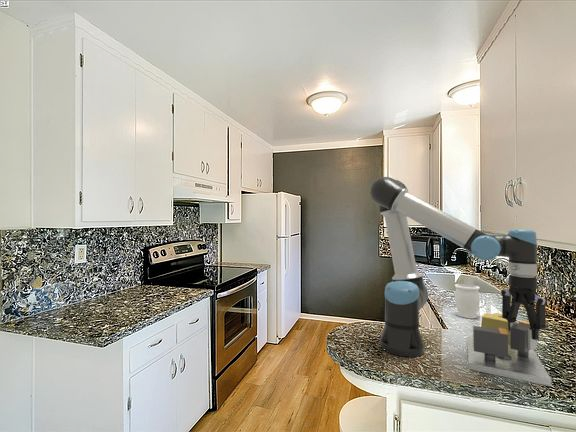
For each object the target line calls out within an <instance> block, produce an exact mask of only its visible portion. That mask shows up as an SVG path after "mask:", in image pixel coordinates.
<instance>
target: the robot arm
mask: <svg viewBox="0 0 576 432" xmlns="http://www.w3.org/2000/svg"><path fill="white" fill-rule="evenodd" d="M369 195H370V198H371V200H372V201H373V203H375V205H378V209H379V214H380V215H382V216H383V217H384V221H385V226H386V232H387V236H388V237H387V238H388V242H389V248H390V253H391V259H392V265H393V270H394V274H393V276H392V277H391V280H392V281H390V282H388V283H386V284H385V287H384V325H383V330H382V331H381V335H380V337H379V347H380V346H381V347H382V348H383V349H385V350H386V351H388V352H390V353H389V354H391V353H393V354H392V355H394V354H396V355H395V356H398V355H400V356H399V357H404V356H409V357H408V358H414V357H415V358H416V357H420V356H422V355H423V354H425V344H424V341H423V338H422V335H421V331H420V328H419V327H420V321H419V320H420V319H419V317H420V310H421V309H422V308H423V307H424V306H425V305H426V303H427V302H428V297H429V291H428V288H427V286H426V285H425V283H424V278H423V275H422V273H419V272H418V267H417V265H416V258H415V255H414V248H413V247H414V246H413V243H412V237H411V233H410V228H409V223H408V218H409V219H410V220H413V221H415V222H416V223H418V224H419V225H421V226H423V227H426V228H427V229H428V230H430V231H432V232H434V233H436V234H438V235H439V236H441V237H443V238H445V239H446V240H448V241H451V242H452V243H454V244H456V245H457V246H459V247H460V248H463V249H464V250H466V252H468V254H469V255H471V256H472V255H473V256H474V257H476V258H477V259H480V260H483V261H490V260H493V259H495V258H497V257H504V258H505V257H506V258H508V273H509V275H508V286H509V288H508V289H501V290H500V294H501V297H502V305H501V309H502V310H501V311H502V312H501V314H502V317H503V318H504V319H506V320H507V321H508V330H509V331H510V327H512V326H514V325H516V324H518V323H519V322H518V320H517V317H518V313H519V310H520V307H521V305H523V307H524V308H525V312H526V316H527V319H528V322H529V324H530V328H528V349H530V350H531V349H533V350H535V349H536V350H537V340H539V335H540V334H539V332H540V330H546V328H547V324H546V323H547V321H546V320H547V318H546V316H547V315H546V305H547V302H548V299H547V298H546V297H541V296H539V295H538V293H537V288H538V278H537V277H536V276H538V264H537V263H538V260H537V259H538V257H537V255H538V242H537V233H536V231H534V230H533V229H509V231H508V233H507V234H487V233H485V232H483V231H481V230H480V229H477V228H475V227H473V226H472V225H470V224H468V223H466V222H464V221H462V220H460V219H459V218H456V217H454V216H452V215H451V214H449V213H447V212H445V211H443V210H441V209H439V208H438V207H436V206H433V205H432V204H429V203H428V202H426V201H424V200H423V199H420V198H418V197H417V196H414V195H412V194H410V192H409V190H408V188H407V186H406V185H405V184H404V183H403V182H402V181H400V180H397V179H395V178H392V177H389V176H383V177H382V176H381V177H379V178H377V179H375V180H374V181H373V182H372V183H371V185H370V188H369ZM535 304H536V305H535ZM381 347H380V348H381ZM382 348H381V349H382ZM383 349H382V350H383ZM386 351H385V352H386ZM388 352H387V353H388Z"/></svg>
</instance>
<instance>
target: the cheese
mask: <svg viewBox="0 0 576 432" xmlns="http://www.w3.org/2000/svg"><path fill="white" fill-rule="evenodd" d="M480 327H485V328H491V329H498V330H499V328H504V329H506V330H507V332H508V345H510V331H509V330H508V321H507V320H506V319H504V318H503V317H502V313H498V312H493V313H485V312H484V313H483V314H482V316H481V324H480Z"/></svg>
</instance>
